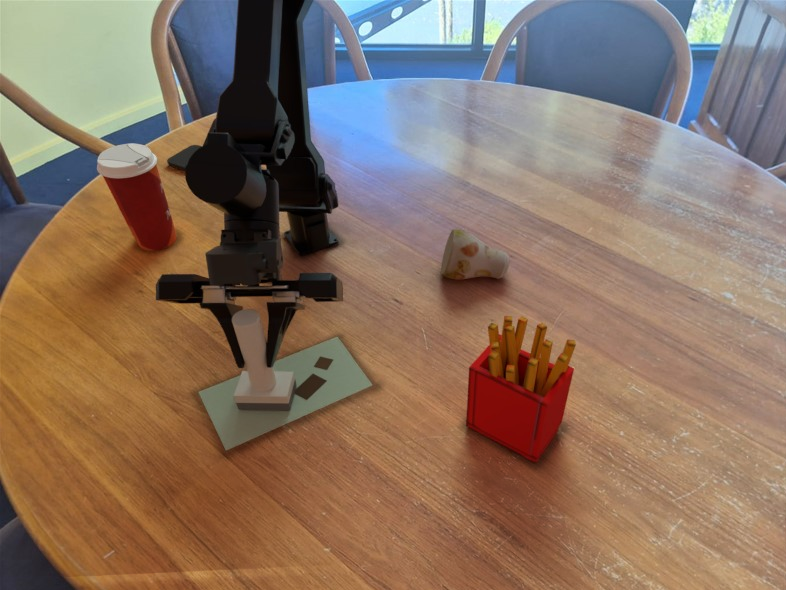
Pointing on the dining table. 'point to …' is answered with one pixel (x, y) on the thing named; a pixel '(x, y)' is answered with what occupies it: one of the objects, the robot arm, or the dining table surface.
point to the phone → (182, 157)
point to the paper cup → (138, 194)
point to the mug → (471, 258)
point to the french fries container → (519, 389)
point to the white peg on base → (259, 369)
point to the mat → (313, 391)
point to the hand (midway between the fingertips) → (255, 367)
